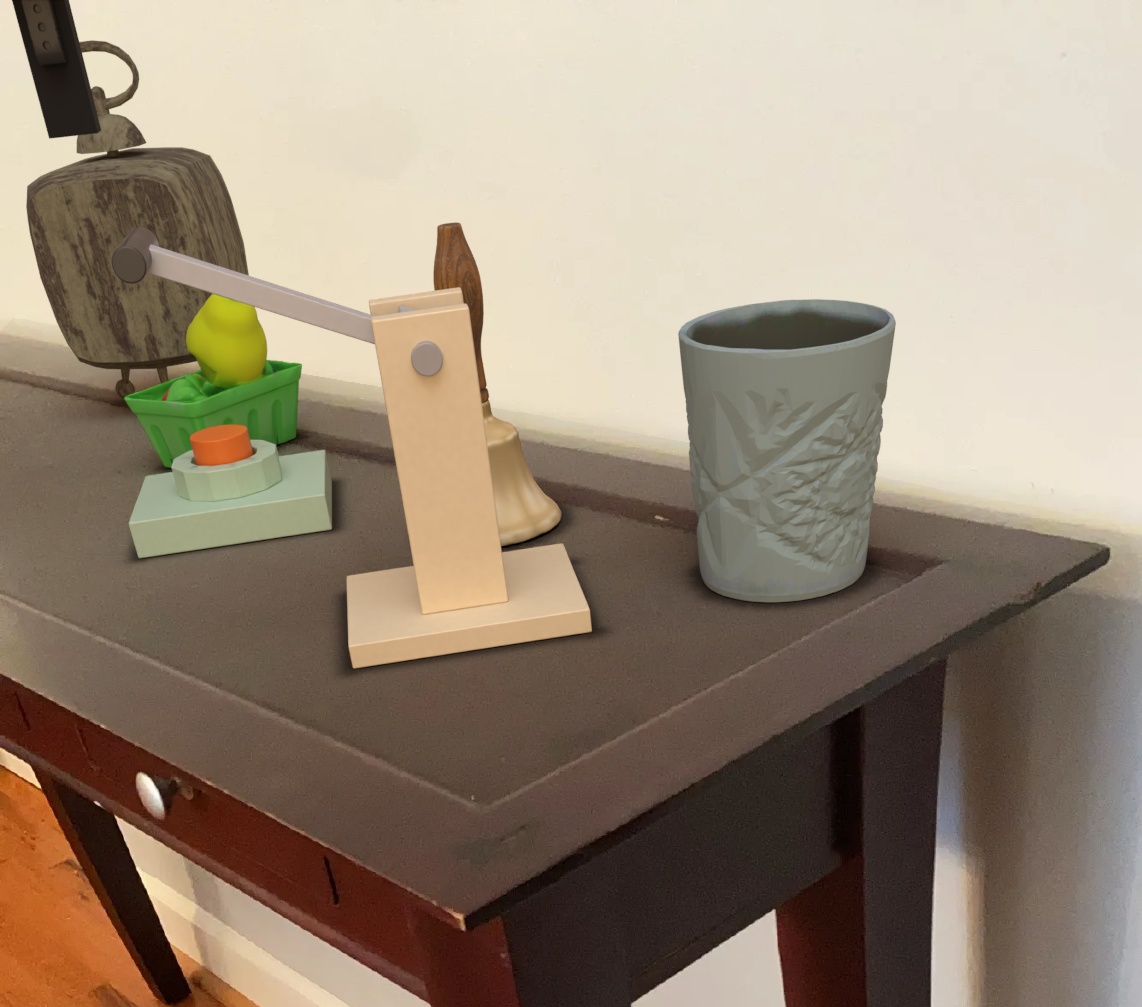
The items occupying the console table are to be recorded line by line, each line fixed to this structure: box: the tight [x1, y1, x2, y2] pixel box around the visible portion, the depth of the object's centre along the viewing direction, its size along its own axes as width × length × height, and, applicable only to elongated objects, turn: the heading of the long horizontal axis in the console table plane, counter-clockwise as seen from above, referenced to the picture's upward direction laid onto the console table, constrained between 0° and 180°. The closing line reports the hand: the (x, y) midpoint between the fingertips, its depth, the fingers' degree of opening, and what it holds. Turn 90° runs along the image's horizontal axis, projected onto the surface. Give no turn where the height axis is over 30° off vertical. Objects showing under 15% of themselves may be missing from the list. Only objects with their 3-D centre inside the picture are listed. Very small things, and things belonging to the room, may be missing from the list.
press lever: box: [111, 227, 416, 345], centre depth 63 cm, size 15×6×2 cm, turn 98°
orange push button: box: [190, 424, 254, 466], centre depth 87 cm, size 4×4×2 cm
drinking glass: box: [677, 298, 897, 603], centre depth 69 cm, size 10×10×12 cm
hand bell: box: [433, 222, 562, 547], centre depth 78 cm, size 8×8×16 cm
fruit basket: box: [123, 294, 303, 469], centre depth 99 cm, size 11×9×11 cm
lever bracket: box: [345, 287, 593, 669], centre depth 68 cm, size 12×10×15 cm
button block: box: [127, 440, 333, 559], centre depth 88 cm, size 12×10×4 cm
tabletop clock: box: [25, 40, 250, 400], centre depth 108 cm, size 14×9×25 cm, turn 84°
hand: (75, 134), depth 78 cm, fingers closed
